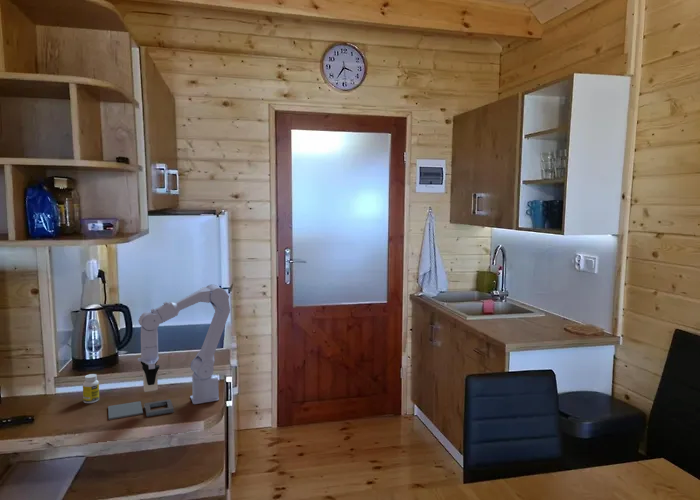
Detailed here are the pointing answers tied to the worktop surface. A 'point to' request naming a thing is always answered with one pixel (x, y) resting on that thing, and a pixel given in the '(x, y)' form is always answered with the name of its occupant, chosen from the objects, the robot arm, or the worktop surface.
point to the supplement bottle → (90, 389)
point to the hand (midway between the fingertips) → (150, 382)
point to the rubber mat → (125, 410)
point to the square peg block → (149, 387)
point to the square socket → (159, 411)
